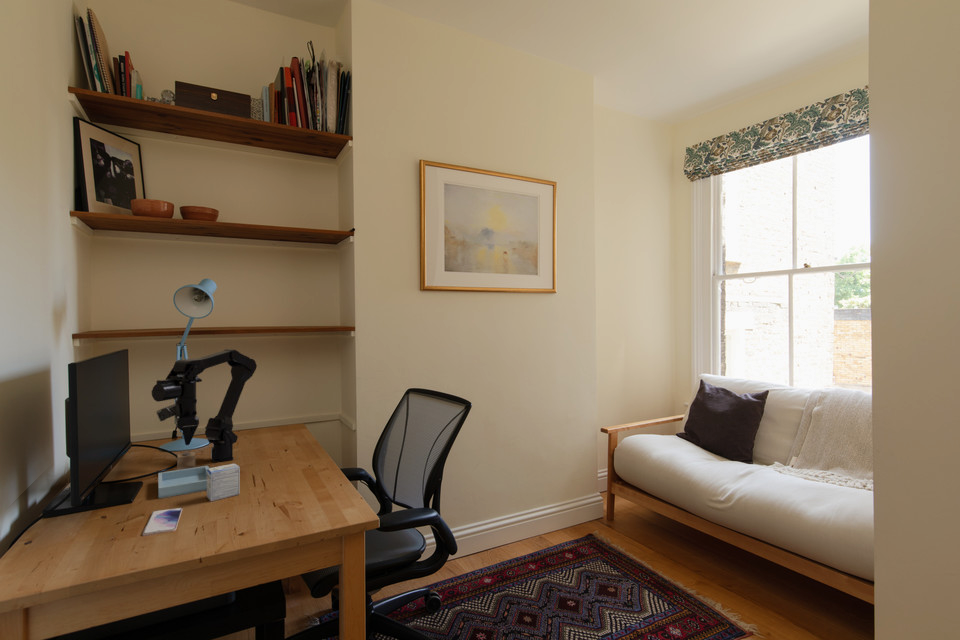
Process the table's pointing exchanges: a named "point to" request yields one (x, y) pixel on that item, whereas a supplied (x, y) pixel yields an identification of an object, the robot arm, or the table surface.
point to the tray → (182, 481)
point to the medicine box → (223, 481)
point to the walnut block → (185, 460)
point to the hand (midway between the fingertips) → (186, 441)
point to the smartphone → (163, 521)
